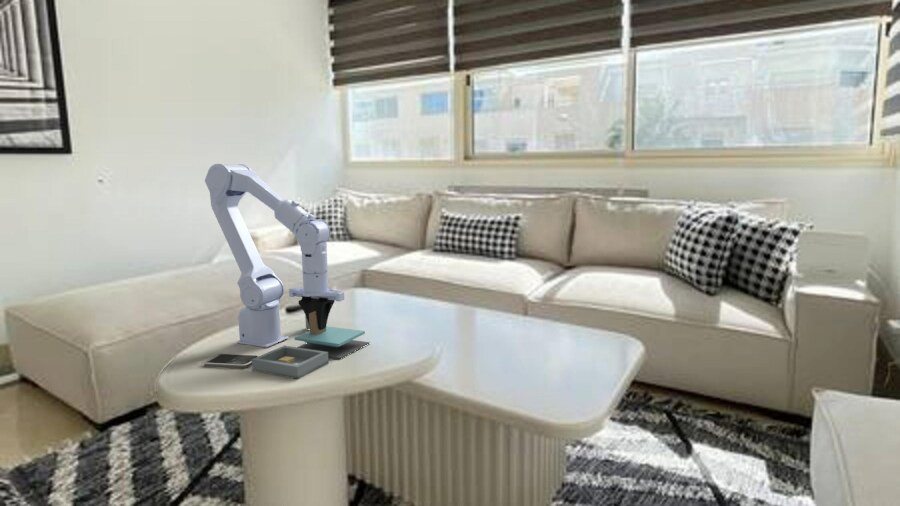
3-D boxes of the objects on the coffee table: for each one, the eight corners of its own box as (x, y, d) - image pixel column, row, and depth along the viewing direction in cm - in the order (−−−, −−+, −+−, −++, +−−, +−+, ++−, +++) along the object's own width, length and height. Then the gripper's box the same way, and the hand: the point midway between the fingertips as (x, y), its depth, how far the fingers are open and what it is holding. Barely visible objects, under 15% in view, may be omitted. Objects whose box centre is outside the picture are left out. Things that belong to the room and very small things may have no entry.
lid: (294, 343, 127) (293, 316, 126) (322, 331, 136) (321, 306, 135) (339, 350, 122) (338, 322, 121) (365, 336, 131) (364, 310, 130)
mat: (290, 351, 127) (290, 350, 127) (322, 337, 138) (322, 336, 137) (340, 359, 121) (340, 357, 121) (369, 344, 132) (369, 342, 132)
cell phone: (246, 371, 116) (246, 364, 115) (199, 368, 118) (198, 362, 117) (261, 361, 122) (261, 355, 122) (216, 359, 124) (215, 353, 123)
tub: (252, 370, 115) (251, 359, 114) (284, 356, 124) (284, 345, 123) (298, 378, 110) (297, 366, 109) (328, 363, 119) (328, 352, 118)
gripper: (279, 272, 127) (282, 329, 129) (330, 276, 122) (333, 336, 123) (299, 268, 134) (301, 321, 136) (348, 271, 128) (350, 327, 130)
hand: (317, 328), depth 130 cm, fingers closed on lid
